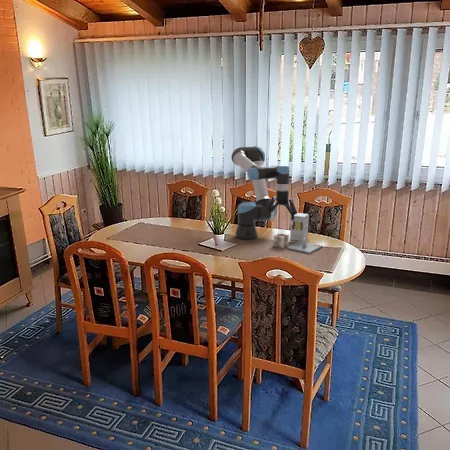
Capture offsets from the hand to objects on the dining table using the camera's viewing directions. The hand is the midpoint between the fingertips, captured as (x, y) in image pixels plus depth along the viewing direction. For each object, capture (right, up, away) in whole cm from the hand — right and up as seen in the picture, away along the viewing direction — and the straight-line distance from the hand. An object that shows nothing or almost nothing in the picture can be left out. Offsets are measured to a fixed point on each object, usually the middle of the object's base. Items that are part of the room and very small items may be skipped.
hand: (281, 223), depth 291 cm
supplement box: (+14, -10, +18) cm, 25 cm away
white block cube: (0, -14, +4) cm, 15 cm away
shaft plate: (+14, -16, -1) cm, 21 cm away
